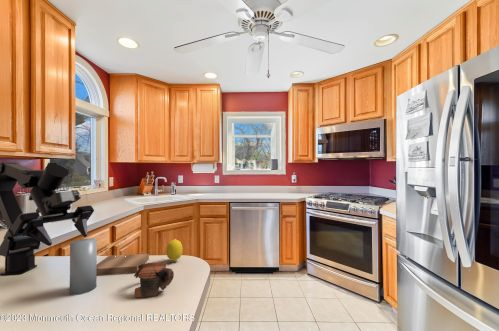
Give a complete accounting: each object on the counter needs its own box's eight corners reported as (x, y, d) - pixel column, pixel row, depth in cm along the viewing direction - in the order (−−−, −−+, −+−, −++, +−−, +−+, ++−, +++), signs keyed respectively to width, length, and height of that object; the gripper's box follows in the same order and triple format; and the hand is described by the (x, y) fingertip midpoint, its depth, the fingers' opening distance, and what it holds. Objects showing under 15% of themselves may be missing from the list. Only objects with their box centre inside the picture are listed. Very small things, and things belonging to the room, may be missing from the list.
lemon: (177, 264, 80) (177, 241, 80) (163, 263, 81) (163, 240, 82) (185, 259, 86) (185, 237, 86) (171, 258, 87) (171, 236, 87)
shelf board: (90, 275, 73) (90, 269, 73) (108, 261, 85) (108, 255, 85) (137, 272, 74) (137, 266, 74) (148, 259, 86) (148, 253, 86)
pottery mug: (122, 300, 59) (127, 265, 63) (148, 300, 67) (151, 269, 71) (163, 292, 56) (165, 256, 61) (185, 293, 64) (185, 261, 68)
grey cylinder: (64, 295, 61) (64, 245, 61) (78, 284, 67) (78, 238, 67) (88, 293, 61) (89, 243, 62) (100, 283, 67) (100, 237, 68)
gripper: (18, 183, 61) (41, 228, 56) (90, 181, 78) (113, 215, 74) (2, 212, 64) (23, 257, 59) (76, 203, 81) (96, 238, 76)
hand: (69, 240), depth 67 cm, fingers open, 9 cm apart
